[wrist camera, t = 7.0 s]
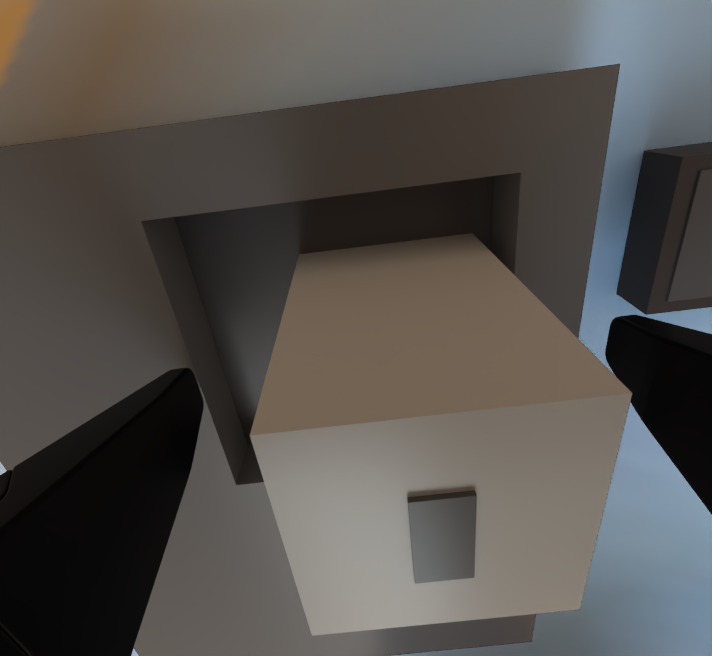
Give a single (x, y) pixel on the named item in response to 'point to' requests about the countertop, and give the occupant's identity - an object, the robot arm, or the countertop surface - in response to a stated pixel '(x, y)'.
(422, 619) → the block
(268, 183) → the outlet plate
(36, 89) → the countertop surface
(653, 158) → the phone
